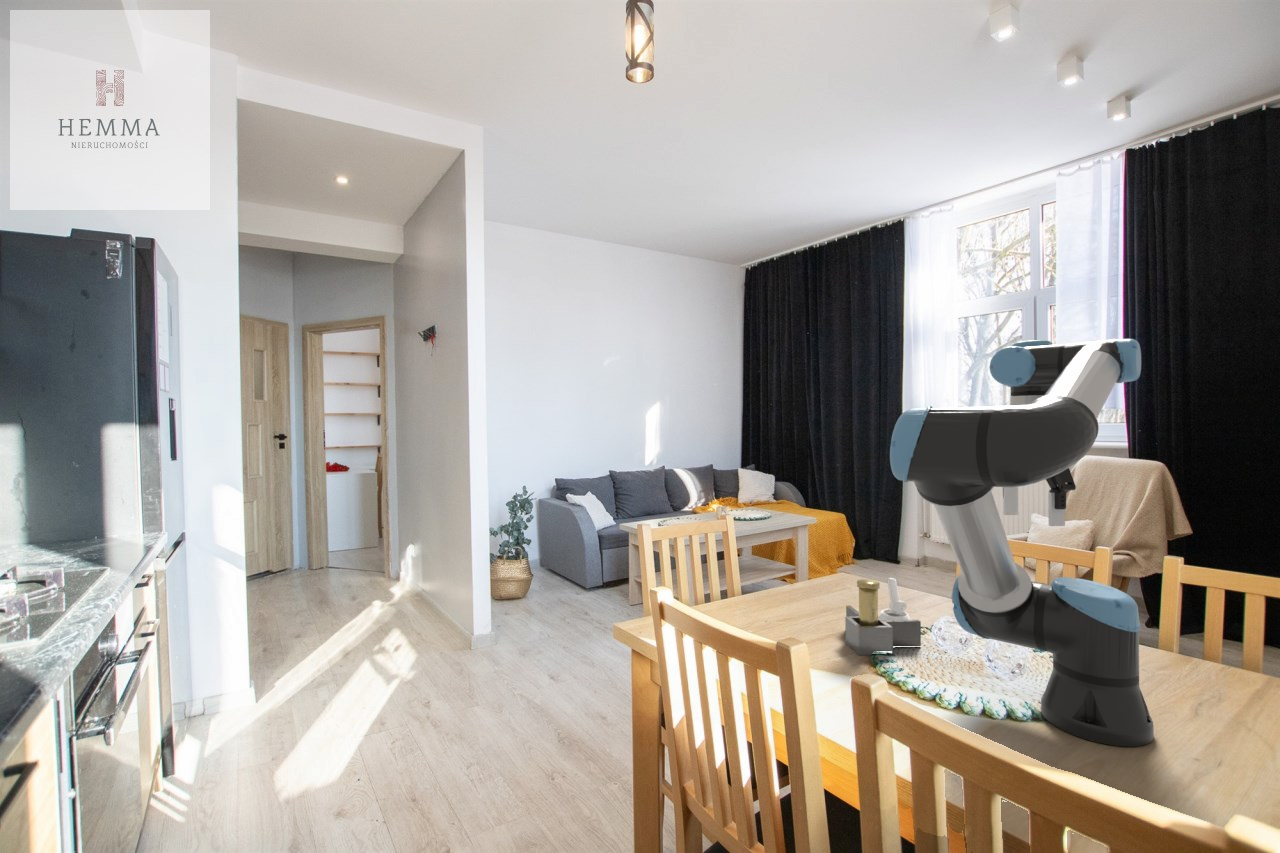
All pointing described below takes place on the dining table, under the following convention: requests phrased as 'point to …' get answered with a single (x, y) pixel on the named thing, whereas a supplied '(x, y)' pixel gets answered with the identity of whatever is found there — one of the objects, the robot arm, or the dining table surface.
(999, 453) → the robot arm
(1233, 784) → the dining table surface
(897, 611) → the hook
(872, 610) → the hinge pin
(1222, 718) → the dining table surface
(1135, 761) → the dining table surface
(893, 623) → the hinge base
